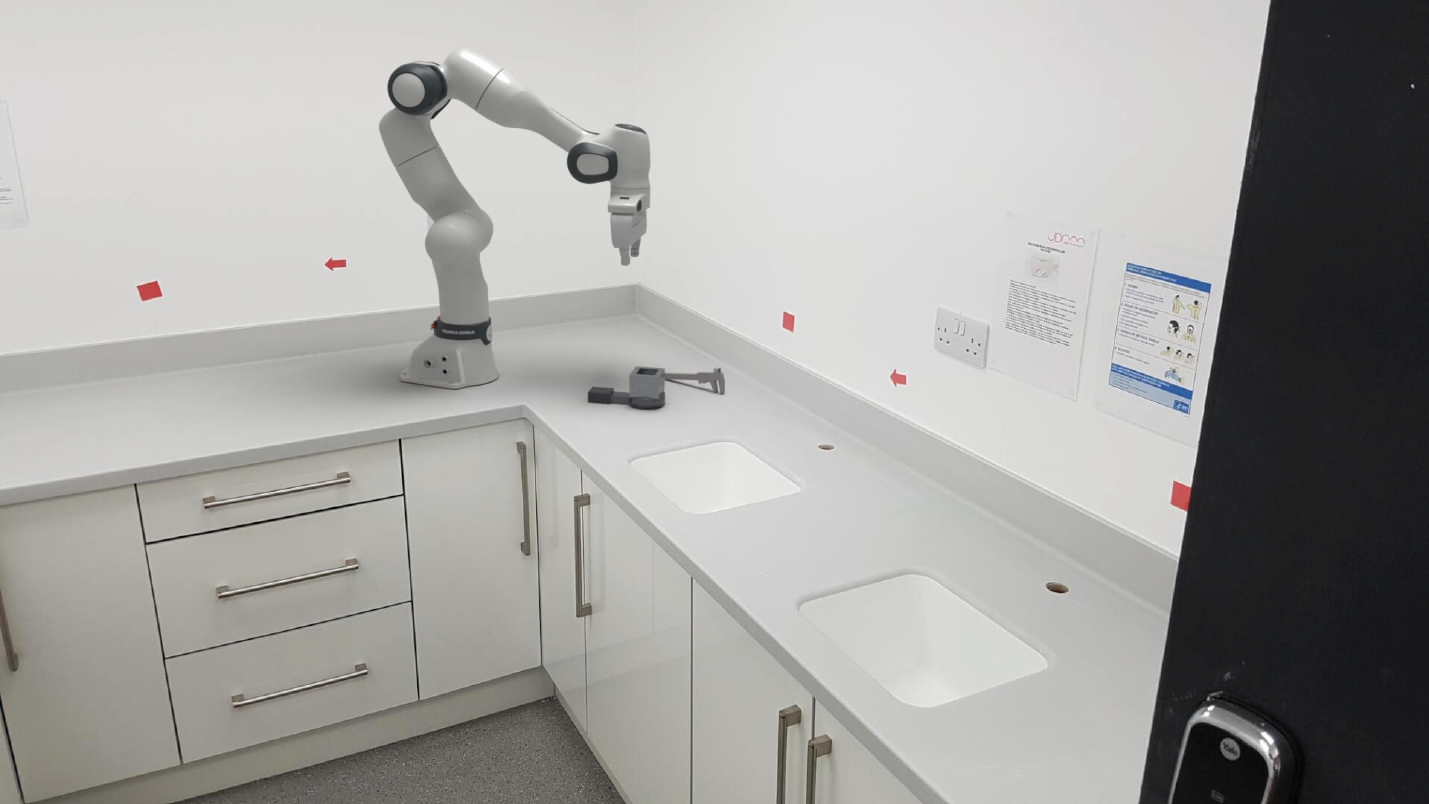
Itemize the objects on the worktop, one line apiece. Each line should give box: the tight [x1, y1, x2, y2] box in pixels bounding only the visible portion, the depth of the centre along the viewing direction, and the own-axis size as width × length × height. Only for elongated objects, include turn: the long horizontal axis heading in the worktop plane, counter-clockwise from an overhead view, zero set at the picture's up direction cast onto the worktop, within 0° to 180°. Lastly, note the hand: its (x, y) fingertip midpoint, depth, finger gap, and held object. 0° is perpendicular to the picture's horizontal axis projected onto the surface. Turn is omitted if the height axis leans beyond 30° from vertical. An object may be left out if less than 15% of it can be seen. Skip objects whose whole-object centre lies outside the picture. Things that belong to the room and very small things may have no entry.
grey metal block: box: [628, 365, 666, 399], centre depth 242 cm, size 7×7×5 cm
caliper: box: [665, 367, 726, 395], centre depth 256 cm, size 20×1×6 cm, turn 55°
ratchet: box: [587, 386, 666, 411], centre depth 244 cm, size 17×8×6 cm, turn 82°
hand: (630, 260), depth 248 cm, fingers open, 8 cm apart
